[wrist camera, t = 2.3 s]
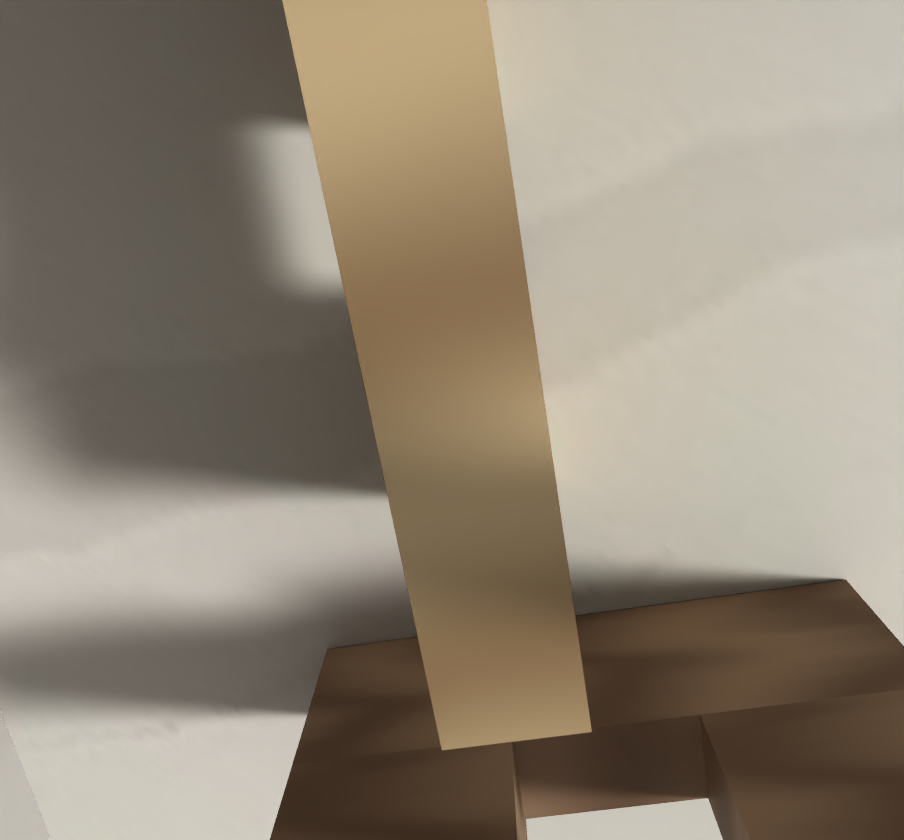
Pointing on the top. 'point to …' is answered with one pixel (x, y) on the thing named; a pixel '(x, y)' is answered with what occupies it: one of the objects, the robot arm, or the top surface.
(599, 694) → the slotted wooden board
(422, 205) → the wooden interlocking puzzle
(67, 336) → the top surface
